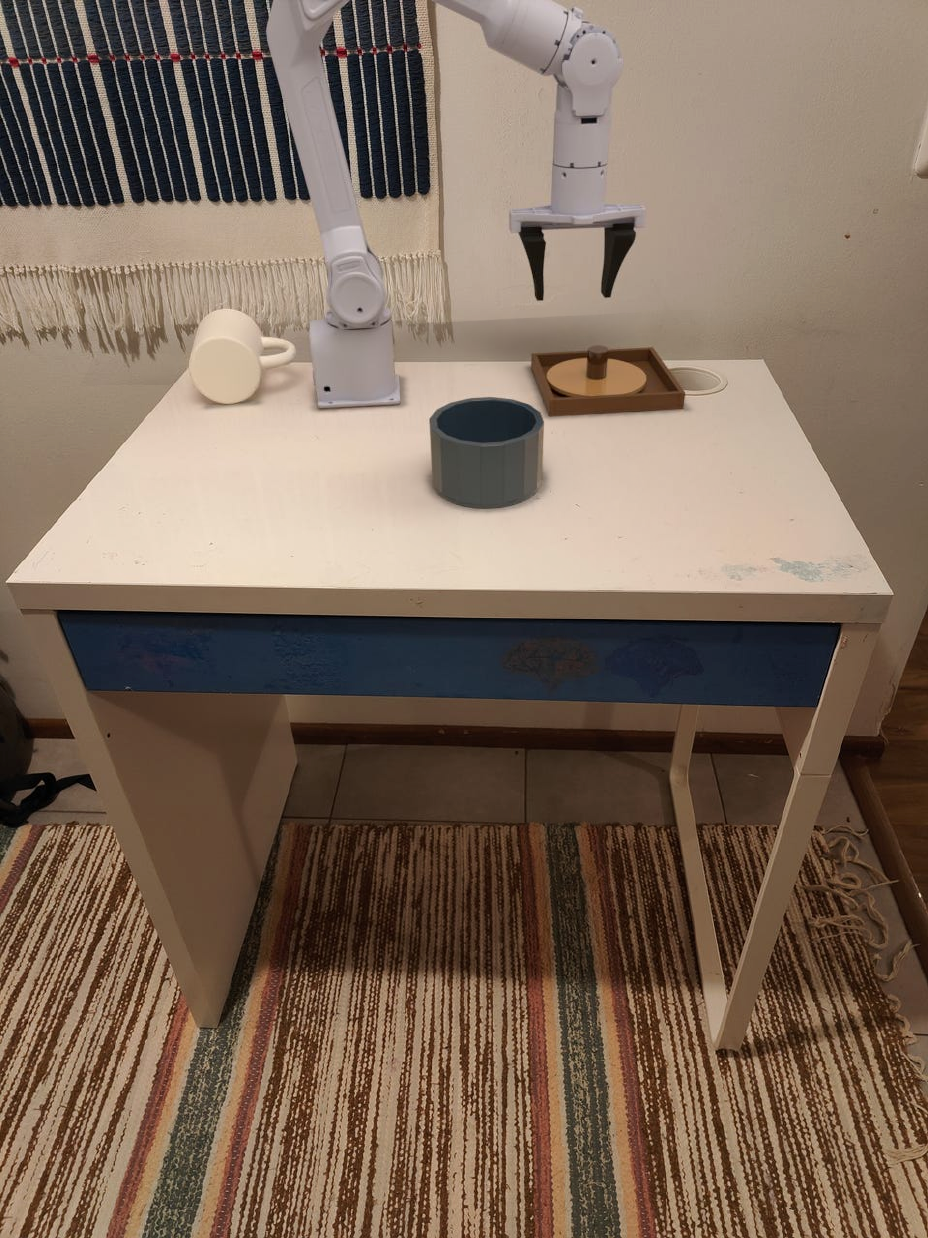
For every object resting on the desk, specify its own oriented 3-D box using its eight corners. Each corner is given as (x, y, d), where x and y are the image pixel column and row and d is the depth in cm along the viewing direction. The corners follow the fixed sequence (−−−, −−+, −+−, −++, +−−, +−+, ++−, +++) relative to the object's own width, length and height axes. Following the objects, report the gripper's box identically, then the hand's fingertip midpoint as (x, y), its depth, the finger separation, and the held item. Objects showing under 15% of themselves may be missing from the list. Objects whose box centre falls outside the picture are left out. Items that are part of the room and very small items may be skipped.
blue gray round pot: (435, 511, 80) (432, 448, 76) (430, 459, 88) (427, 399, 84) (548, 504, 80) (551, 442, 76) (532, 453, 89) (534, 394, 85)
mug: (196, 407, 100) (181, 339, 95) (203, 374, 108) (190, 310, 103) (300, 398, 101) (291, 331, 96) (300, 367, 109) (291, 303, 104)
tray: (549, 416, 96) (549, 400, 95) (530, 368, 107) (531, 353, 106) (683, 408, 96) (685, 392, 95) (651, 361, 108) (653, 346, 107)
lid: (554, 407, 97) (556, 370, 94) (539, 368, 106) (540, 334, 103) (656, 402, 97) (661, 365, 94) (632, 363, 106) (635, 329, 104)
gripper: (515, 173, 86) (513, 310, 94) (658, 167, 87) (643, 304, 95) (507, 160, 92) (506, 290, 100) (641, 155, 92) (629, 285, 101)
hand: (572, 296), depth 98 cm, fingers open, 7 cm apart
